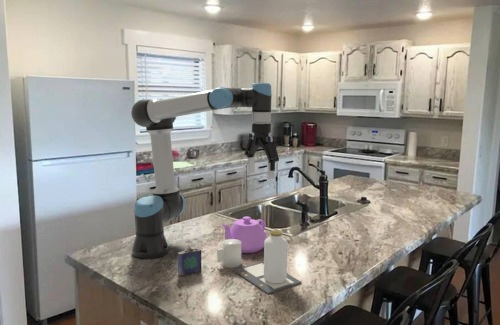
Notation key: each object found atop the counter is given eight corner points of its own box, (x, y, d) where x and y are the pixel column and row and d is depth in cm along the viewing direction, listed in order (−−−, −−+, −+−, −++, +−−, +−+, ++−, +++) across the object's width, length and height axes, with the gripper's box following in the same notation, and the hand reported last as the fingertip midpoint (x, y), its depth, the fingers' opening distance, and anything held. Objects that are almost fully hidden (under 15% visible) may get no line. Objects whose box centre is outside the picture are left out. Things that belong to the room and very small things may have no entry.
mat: (267, 294, 141) (267, 292, 140) (233, 271, 159) (233, 269, 158) (301, 283, 149) (301, 281, 149) (265, 262, 167) (265, 261, 167)
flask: (179, 277, 153) (178, 249, 151) (176, 274, 156) (176, 247, 154) (202, 272, 157) (202, 245, 156) (199, 269, 160) (199, 243, 158)
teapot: (252, 236, 198) (252, 208, 195) (278, 246, 185) (279, 217, 182) (209, 248, 182) (209, 218, 179) (235, 260, 168) (235, 228, 166)
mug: (234, 258, 171) (234, 237, 169) (244, 264, 165) (245, 243, 163) (213, 264, 165) (213, 242, 164) (222, 270, 159) (222, 248, 157)
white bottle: (261, 275, 154) (262, 228, 151) (283, 274, 155) (284, 228, 152) (265, 285, 146) (266, 236, 143) (288, 284, 147) (290, 235, 144)
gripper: (288, 124, 154) (287, 180, 158) (251, 120, 175) (251, 169, 178) (272, 125, 150) (271, 182, 154) (236, 121, 171) (236, 171, 174)
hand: (260, 175), depth 166 cm, fingers open, 13 cm apart
